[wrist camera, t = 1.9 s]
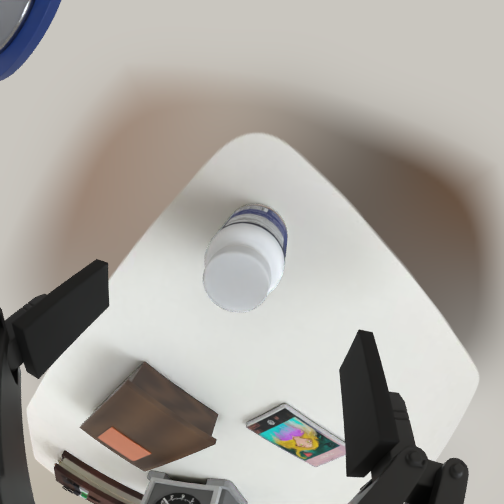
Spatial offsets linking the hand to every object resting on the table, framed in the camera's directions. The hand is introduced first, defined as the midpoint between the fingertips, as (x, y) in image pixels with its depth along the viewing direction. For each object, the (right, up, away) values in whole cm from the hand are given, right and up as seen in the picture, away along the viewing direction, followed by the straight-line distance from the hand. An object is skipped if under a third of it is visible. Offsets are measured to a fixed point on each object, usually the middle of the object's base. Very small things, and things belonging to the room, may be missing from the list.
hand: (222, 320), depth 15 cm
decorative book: (-40, -61, +45) cm, 86 cm away
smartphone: (+8, -22, +22) cm, 32 cm away
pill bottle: (+2, +5, +12) cm, 13 cm away
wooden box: (-14, -21, +25) cm, 35 cm away
